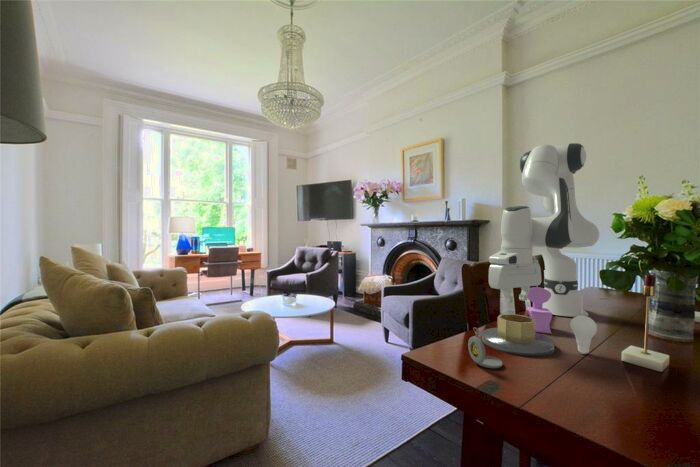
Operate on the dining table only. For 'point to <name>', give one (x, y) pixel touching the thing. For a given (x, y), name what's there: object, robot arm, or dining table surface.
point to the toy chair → (540, 309)
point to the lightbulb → (583, 332)
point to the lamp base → (517, 337)
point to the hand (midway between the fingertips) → (516, 301)
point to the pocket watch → (481, 353)
